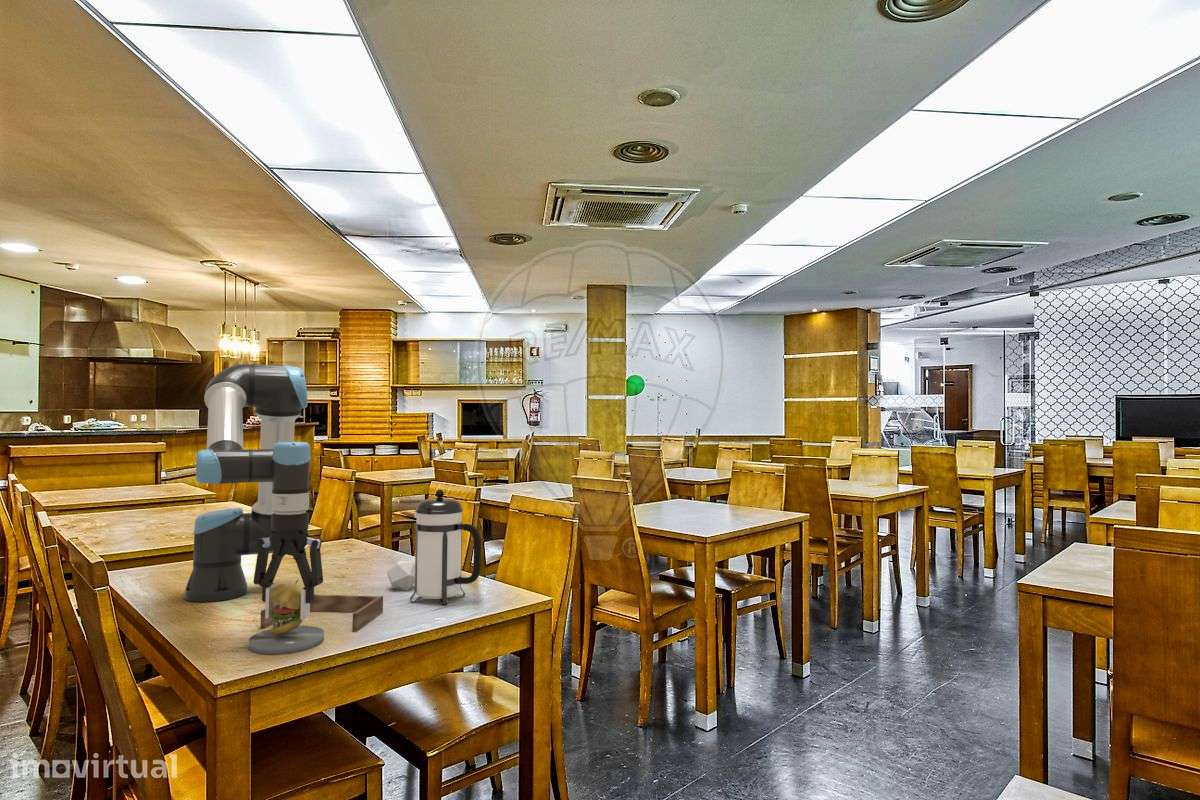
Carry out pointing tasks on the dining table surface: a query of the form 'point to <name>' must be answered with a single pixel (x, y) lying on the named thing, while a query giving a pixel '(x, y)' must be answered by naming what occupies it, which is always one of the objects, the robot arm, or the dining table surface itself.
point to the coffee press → (441, 549)
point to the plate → (286, 640)
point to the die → (402, 575)
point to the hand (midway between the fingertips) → (287, 617)
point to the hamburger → (285, 608)
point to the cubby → (343, 608)
